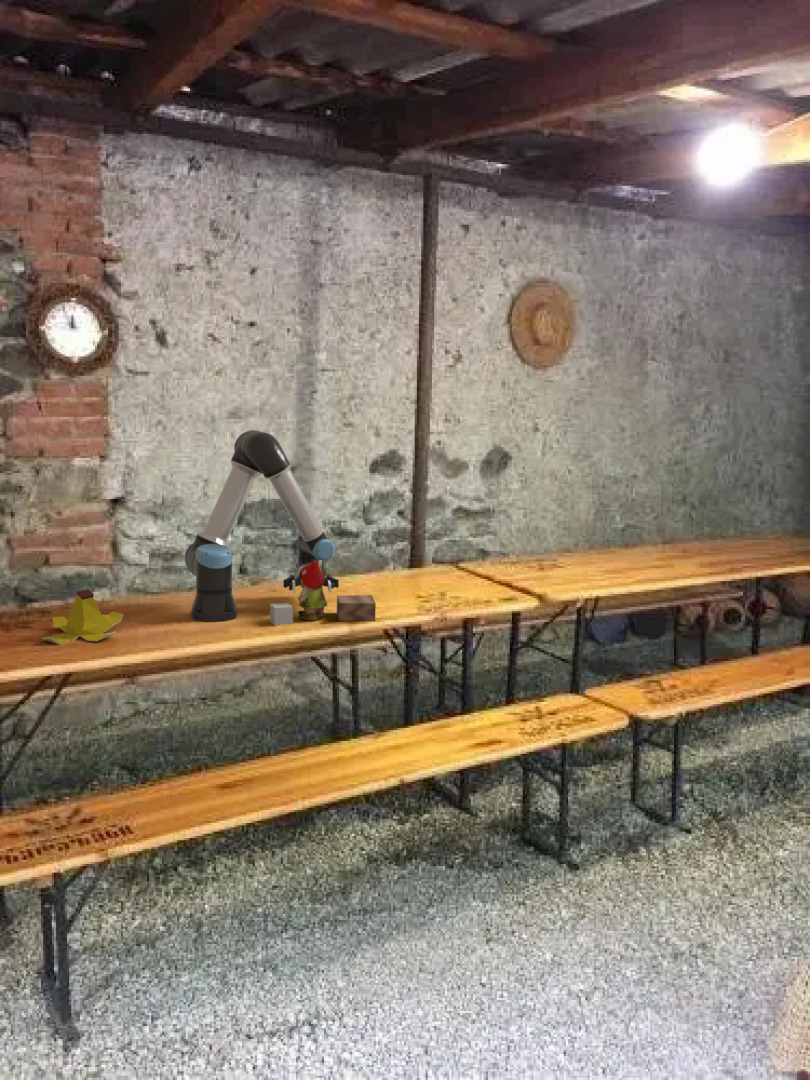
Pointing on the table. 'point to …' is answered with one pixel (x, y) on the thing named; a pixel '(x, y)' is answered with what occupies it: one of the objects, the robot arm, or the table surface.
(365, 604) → the pedestal
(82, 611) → the banana peel
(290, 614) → the grey cube
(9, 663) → the table surface
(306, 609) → the figurine
